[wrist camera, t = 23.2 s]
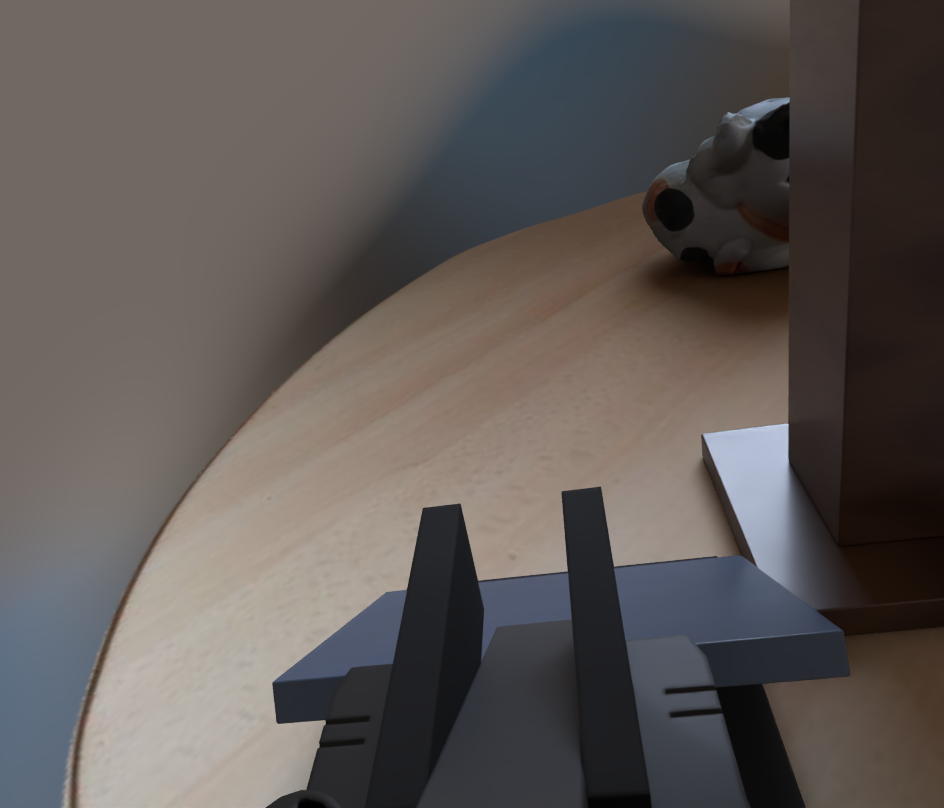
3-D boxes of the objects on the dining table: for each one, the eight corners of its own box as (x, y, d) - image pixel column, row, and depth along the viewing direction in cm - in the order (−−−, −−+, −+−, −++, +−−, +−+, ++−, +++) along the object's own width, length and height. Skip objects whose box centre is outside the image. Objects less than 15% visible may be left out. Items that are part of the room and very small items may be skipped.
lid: (-74, 1052, 9) (-88, 886, 9) (389, 618, 29) (383, 570, 30) (1235, 1018, 7) (1197, 810, 7) (745, 583, 28) (737, 532, 28)
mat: (354, 907, 21) (349, 893, 21) (411, 598, 31) (408, 587, 31) (826, 883, 19) (827, 869, 19) (718, 567, 30) (717, 555, 30)
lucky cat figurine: (782, 212, 67) (871, 51, 57) (843, 305, 60) (959, 139, 49) (619, 198, 64) (682, 26, 54) (661, 296, 56) (745, 116, 46)
